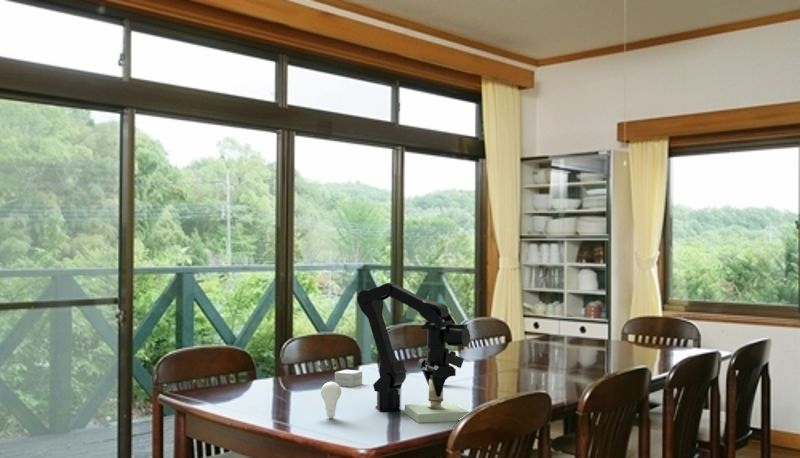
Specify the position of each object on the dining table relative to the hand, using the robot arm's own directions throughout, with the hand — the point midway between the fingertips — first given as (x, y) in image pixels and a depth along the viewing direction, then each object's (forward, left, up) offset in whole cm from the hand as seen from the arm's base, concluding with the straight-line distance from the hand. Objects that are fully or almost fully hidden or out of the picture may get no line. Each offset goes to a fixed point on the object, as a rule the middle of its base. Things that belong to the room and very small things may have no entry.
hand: (436, 395), depth 230 cm
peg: (0, 0, -4) cm, 4 cm away
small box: (-15, +58, -7) cm, 61 cm away
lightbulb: (-32, +5, -7) cm, 33 cm away
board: (0, 0, -6) cm, 7 cm away
